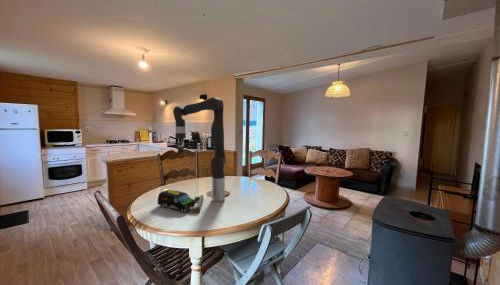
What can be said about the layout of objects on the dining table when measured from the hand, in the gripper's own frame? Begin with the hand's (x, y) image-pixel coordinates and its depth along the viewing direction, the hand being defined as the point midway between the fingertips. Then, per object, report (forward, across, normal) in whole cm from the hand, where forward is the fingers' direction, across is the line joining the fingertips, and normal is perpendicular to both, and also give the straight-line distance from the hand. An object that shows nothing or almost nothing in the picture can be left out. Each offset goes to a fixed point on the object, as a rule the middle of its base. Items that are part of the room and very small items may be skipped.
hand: (180, 152), depth 161 cm
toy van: (+34, -26, -2) cm, 43 cm away
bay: (+33, -26, -16) cm, 45 cm away
